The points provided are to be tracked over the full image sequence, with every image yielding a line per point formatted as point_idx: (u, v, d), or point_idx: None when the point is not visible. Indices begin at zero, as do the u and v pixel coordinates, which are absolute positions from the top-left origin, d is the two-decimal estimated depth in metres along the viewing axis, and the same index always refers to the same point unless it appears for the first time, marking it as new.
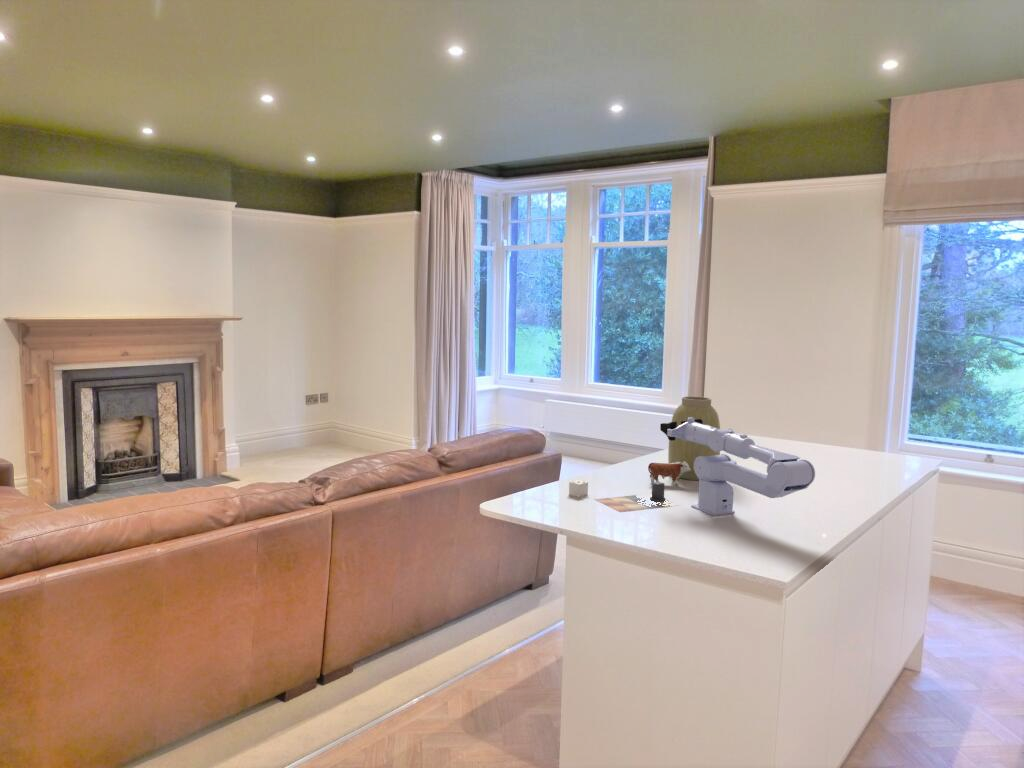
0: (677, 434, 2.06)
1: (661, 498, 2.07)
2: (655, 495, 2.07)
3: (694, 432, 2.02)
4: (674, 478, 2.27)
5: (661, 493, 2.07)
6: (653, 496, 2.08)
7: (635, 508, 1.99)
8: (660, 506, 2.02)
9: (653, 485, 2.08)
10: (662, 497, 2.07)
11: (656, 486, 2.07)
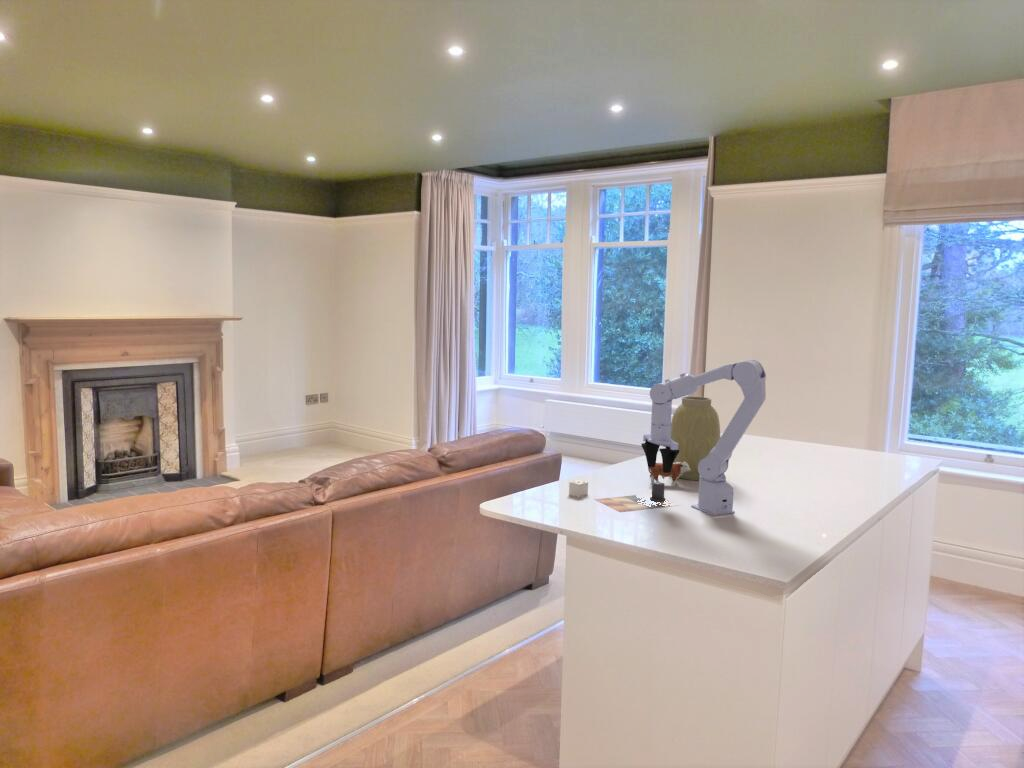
0: None
1: (661, 498, 2.07)
2: (655, 495, 2.07)
3: (655, 423, 2.04)
4: (674, 478, 2.27)
5: (661, 493, 2.07)
6: (653, 496, 2.08)
7: (635, 508, 1.99)
8: (660, 506, 2.02)
9: (653, 485, 2.08)
10: (662, 497, 2.07)
11: (656, 486, 2.07)
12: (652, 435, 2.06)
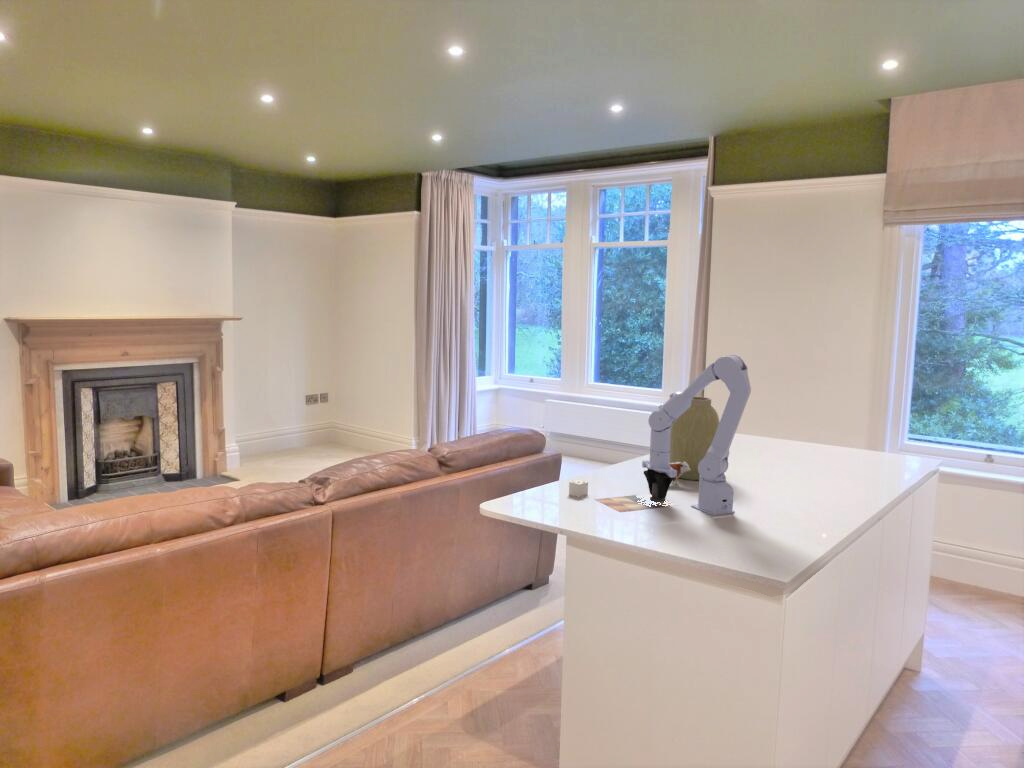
0: (670, 469, 2.04)
1: (661, 498, 2.07)
2: (655, 495, 2.07)
3: (654, 450, 2.05)
4: (674, 478, 2.27)
5: None
6: (653, 496, 2.08)
7: (635, 508, 1.99)
8: (660, 506, 2.02)
9: (653, 485, 2.08)
10: None
11: (656, 486, 2.07)
12: (651, 462, 2.07)
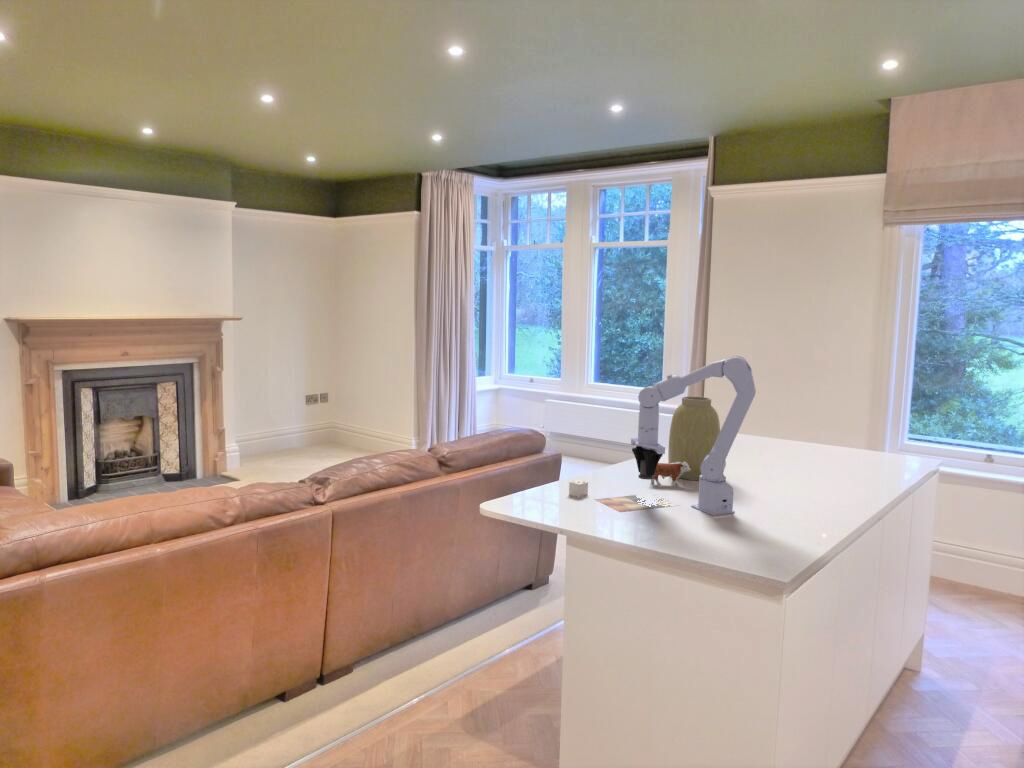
0: (658, 446, 2.01)
1: None
2: (643, 473, 2.05)
3: (644, 427, 2.03)
4: (674, 478, 2.27)
5: None
6: (641, 473, 2.05)
7: (635, 508, 1.99)
8: (660, 506, 2.02)
9: (641, 462, 2.05)
10: None
11: (644, 463, 2.04)
12: (639, 439, 2.04)
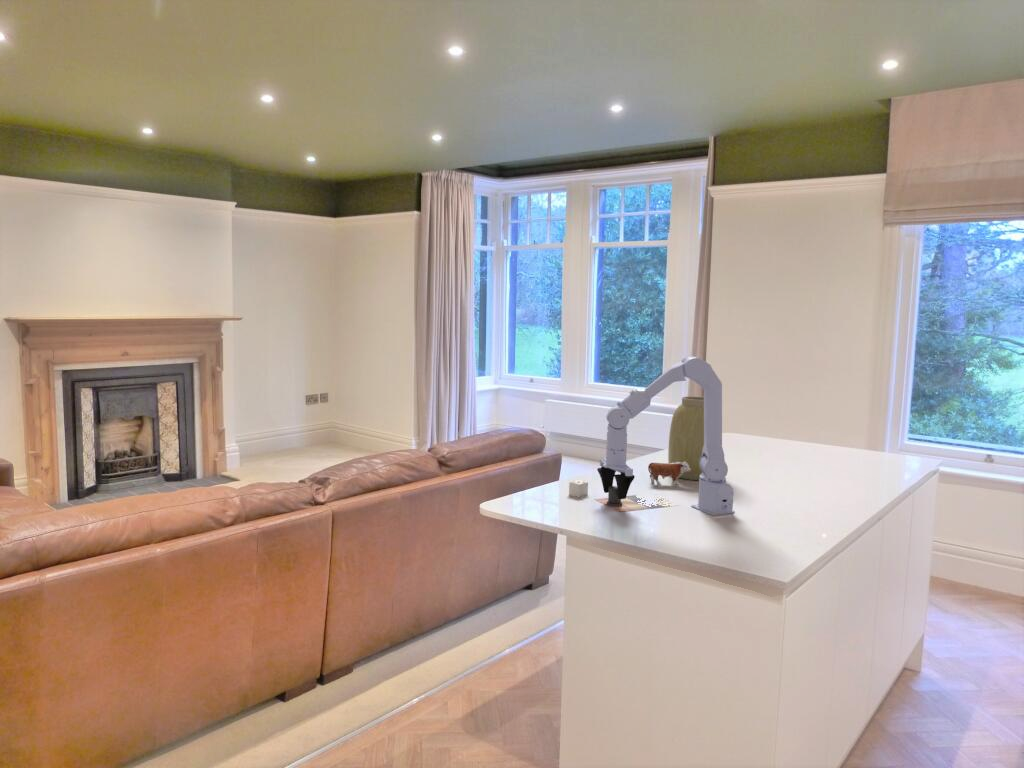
0: (626, 468, 1.97)
1: (617, 503, 2.01)
2: (611, 500, 2.01)
3: (614, 449, 1.98)
4: (674, 478, 2.27)
5: (617, 497, 2.01)
6: (609, 500, 2.02)
7: (635, 508, 1.99)
8: (660, 506, 2.02)
9: (609, 489, 2.02)
10: (619, 502, 2.01)
11: (612, 490, 2.01)
12: (607, 460, 2.00)
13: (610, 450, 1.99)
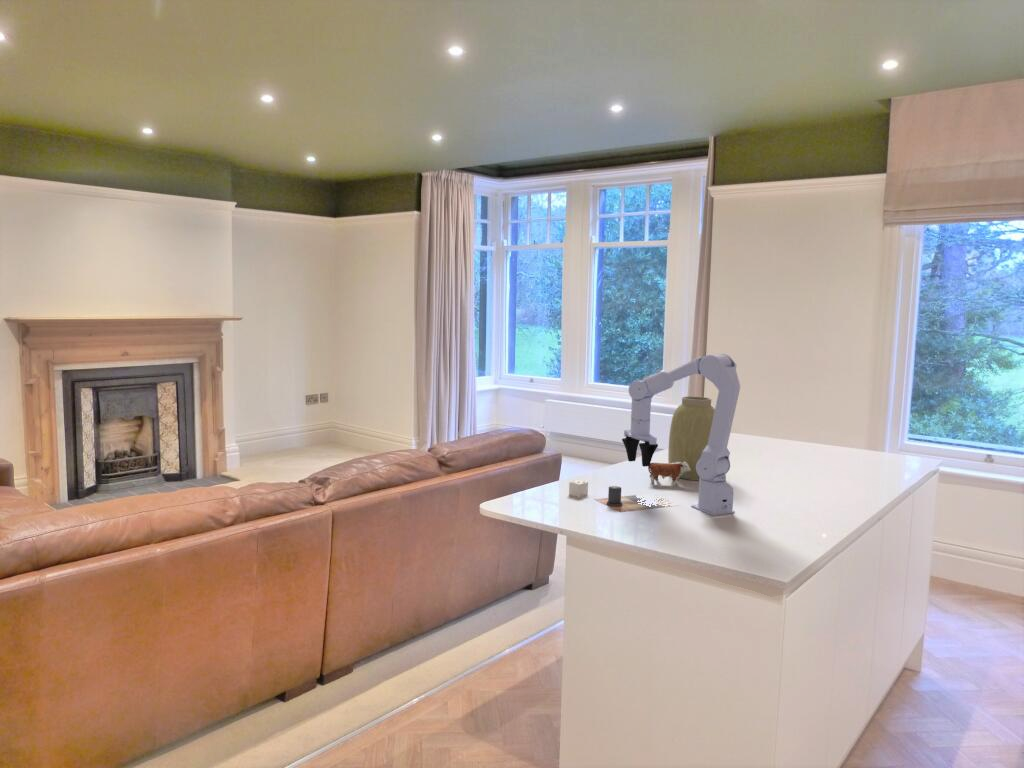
0: (650, 437, 2.11)
1: (617, 503, 2.01)
2: (611, 500, 2.01)
3: (633, 419, 2.13)
4: (674, 478, 2.27)
5: (617, 497, 2.01)
6: (609, 500, 2.02)
7: (635, 508, 1.99)
8: (660, 506, 2.02)
9: (609, 489, 2.02)
10: (619, 502, 2.01)
11: (612, 490, 2.01)
12: (632, 430, 2.14)
13: (635, 420, 2.12)
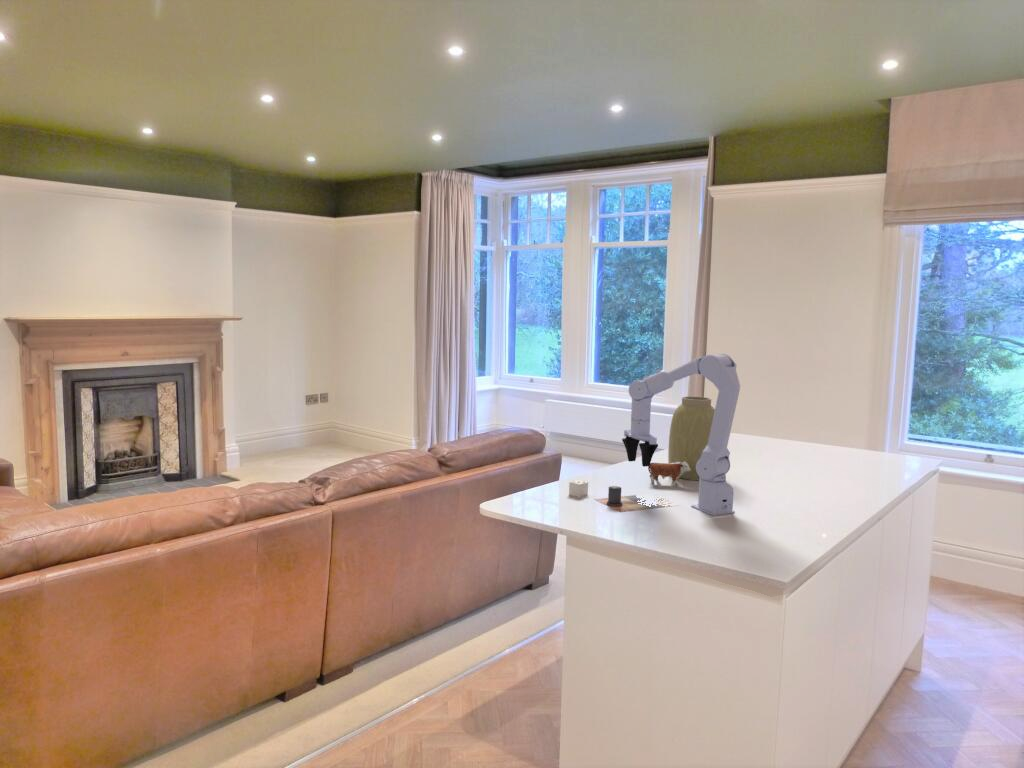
0: (650, 437, 2.11)
1: (617, 503, 2.01)
2: (611, 500, 2.01)
3: (633, 419, 2.13)
4: (674, 478, 2.27)
5: (617, 497, 2.01)
6: (609, 500, 2.02)
7: (635, 508, 1.99)
8: (660, 506, 2.02)
9: (609, 489, 2.02)
10: (619, 502, 2.01)
11: (612, 490, 2.01)
12: (632, 430, 2.14)
13: (635, 420, 2.12)
